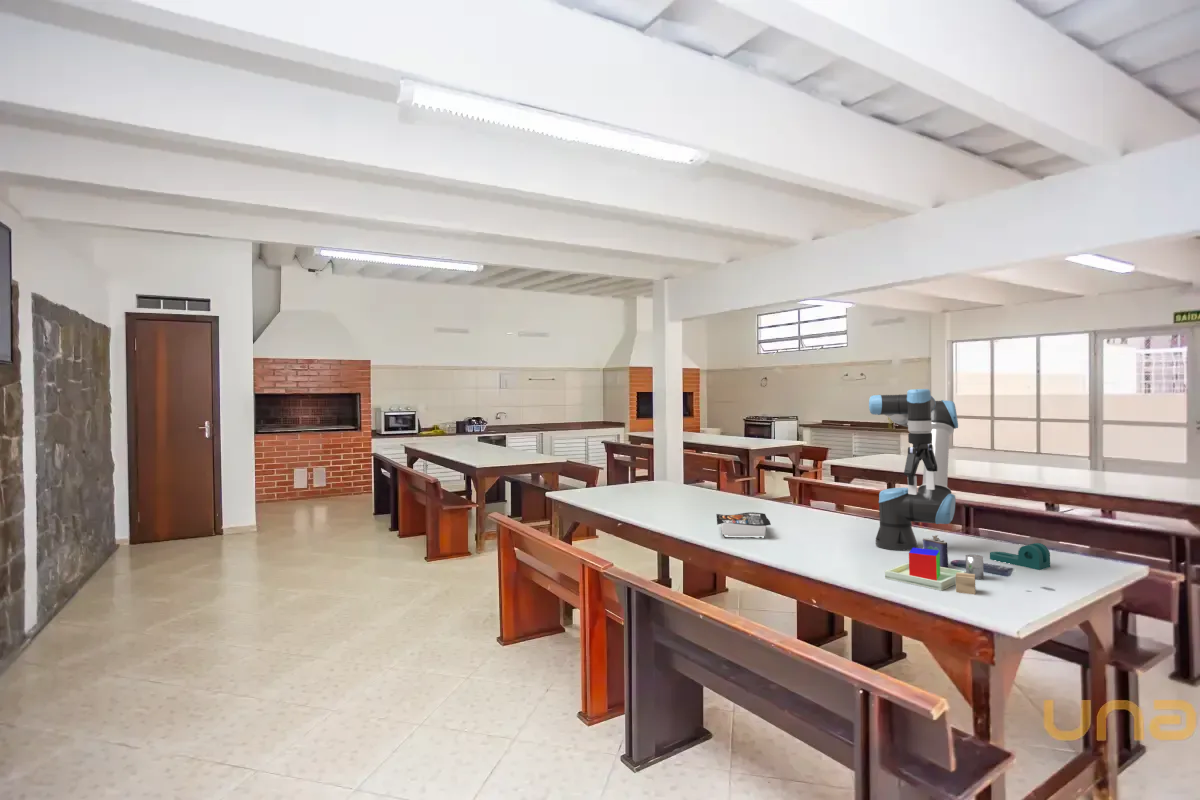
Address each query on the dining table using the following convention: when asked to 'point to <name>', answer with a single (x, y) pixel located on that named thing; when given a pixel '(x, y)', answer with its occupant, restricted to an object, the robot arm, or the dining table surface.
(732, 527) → the food packaging
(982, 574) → the grey canister
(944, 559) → the flask
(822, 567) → the dining table surface
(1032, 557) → the bracket
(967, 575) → the oak block
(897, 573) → the tray
